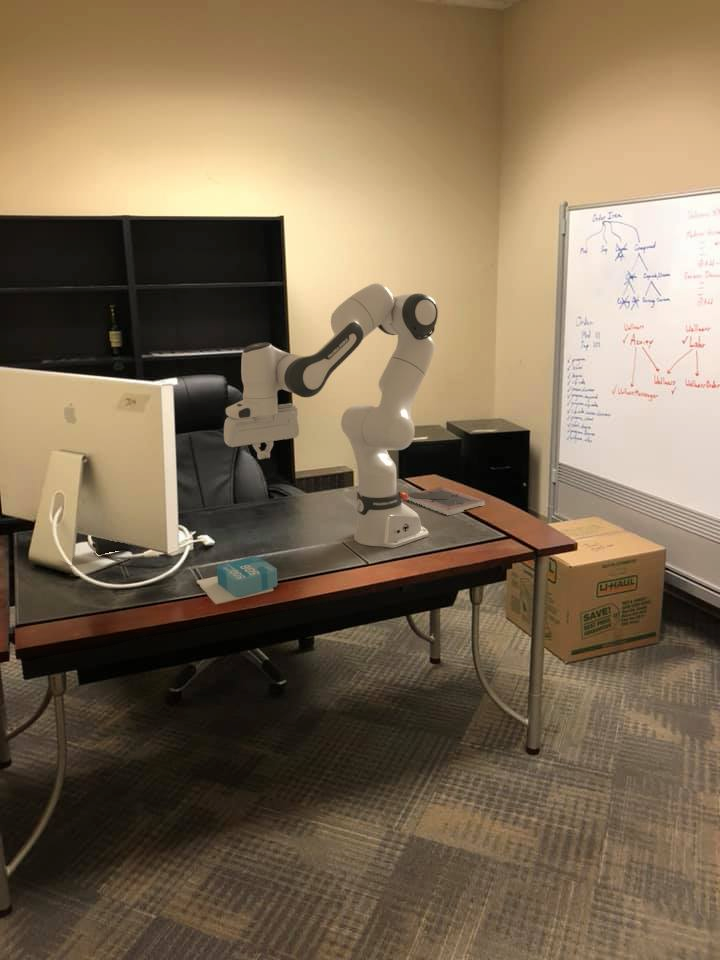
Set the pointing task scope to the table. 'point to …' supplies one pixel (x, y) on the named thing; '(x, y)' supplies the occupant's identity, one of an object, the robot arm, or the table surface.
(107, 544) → the end cap
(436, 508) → the picture frame
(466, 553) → the table surface
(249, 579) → the blue box
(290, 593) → the table surface
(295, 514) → the table surface
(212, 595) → the grey pad
